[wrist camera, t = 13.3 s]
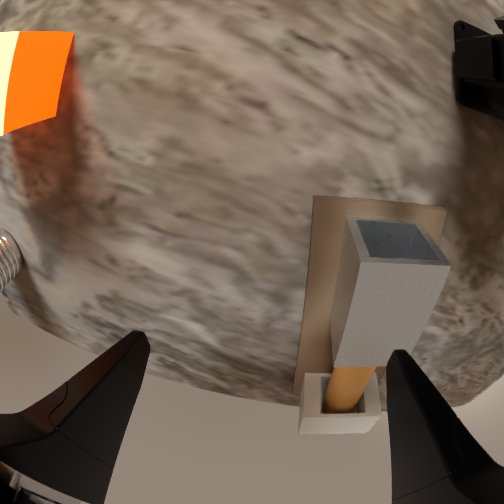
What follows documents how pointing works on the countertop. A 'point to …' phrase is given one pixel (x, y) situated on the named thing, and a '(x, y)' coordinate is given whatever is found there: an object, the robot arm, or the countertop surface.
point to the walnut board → (326, 268)
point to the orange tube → (345, 389)
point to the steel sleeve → (383, 289)
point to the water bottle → (8, 259)
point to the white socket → (321, 423)
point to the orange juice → (30, 76)
